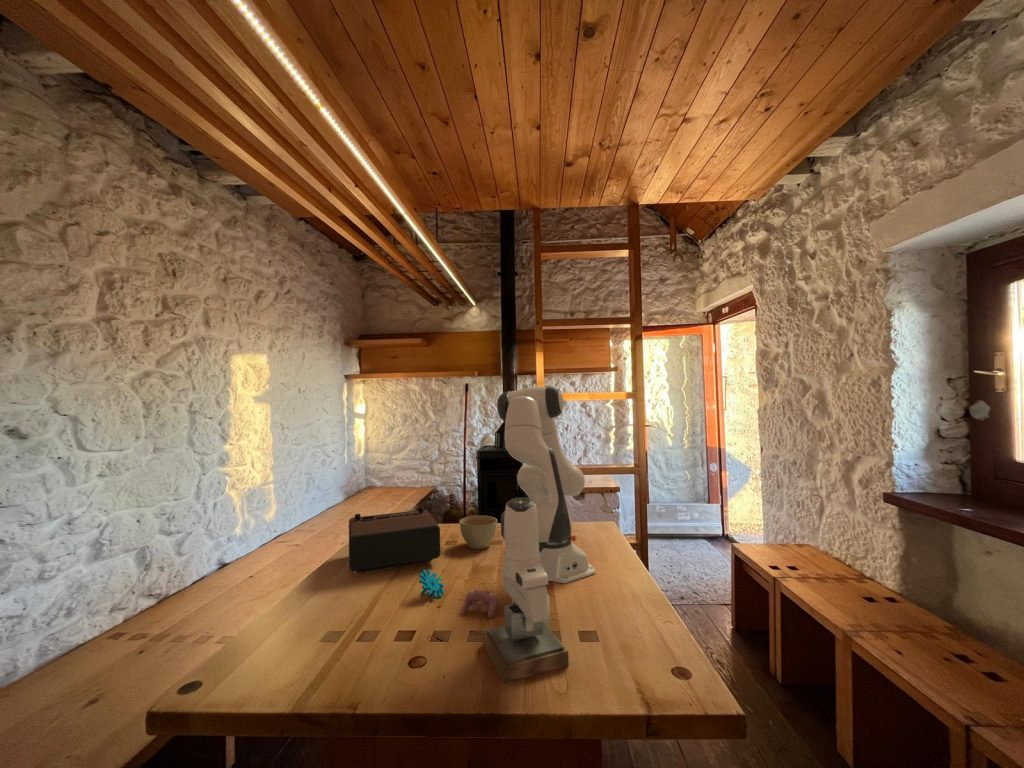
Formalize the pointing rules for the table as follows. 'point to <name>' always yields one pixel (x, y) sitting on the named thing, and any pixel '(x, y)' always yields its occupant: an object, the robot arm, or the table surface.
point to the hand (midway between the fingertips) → (523, 623)
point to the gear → (431, 583)
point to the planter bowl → (478, 530)
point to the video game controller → (480, 595)
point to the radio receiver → (392, 540)
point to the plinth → (524, 653)
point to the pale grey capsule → (547, 620)
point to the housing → (519, 624)
